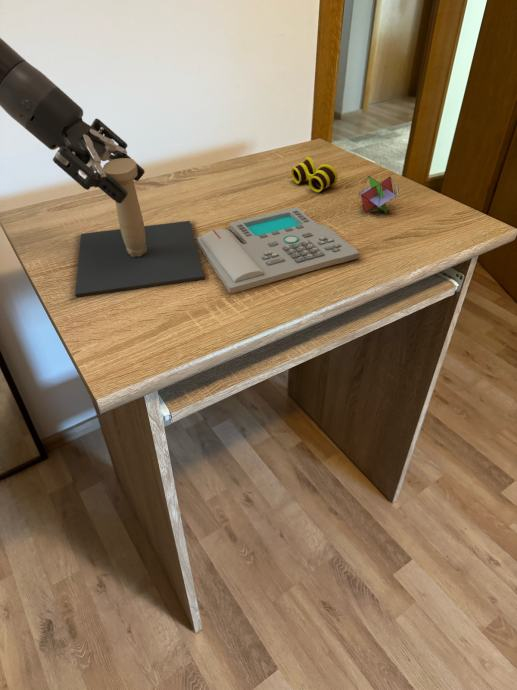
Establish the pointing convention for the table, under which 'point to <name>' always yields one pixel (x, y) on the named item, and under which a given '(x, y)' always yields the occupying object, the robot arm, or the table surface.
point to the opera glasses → (314, 175)
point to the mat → (137, 260)
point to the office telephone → (272, 249)
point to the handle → (128, 205)
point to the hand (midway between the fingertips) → (133, 187)
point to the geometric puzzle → (378, 194)
